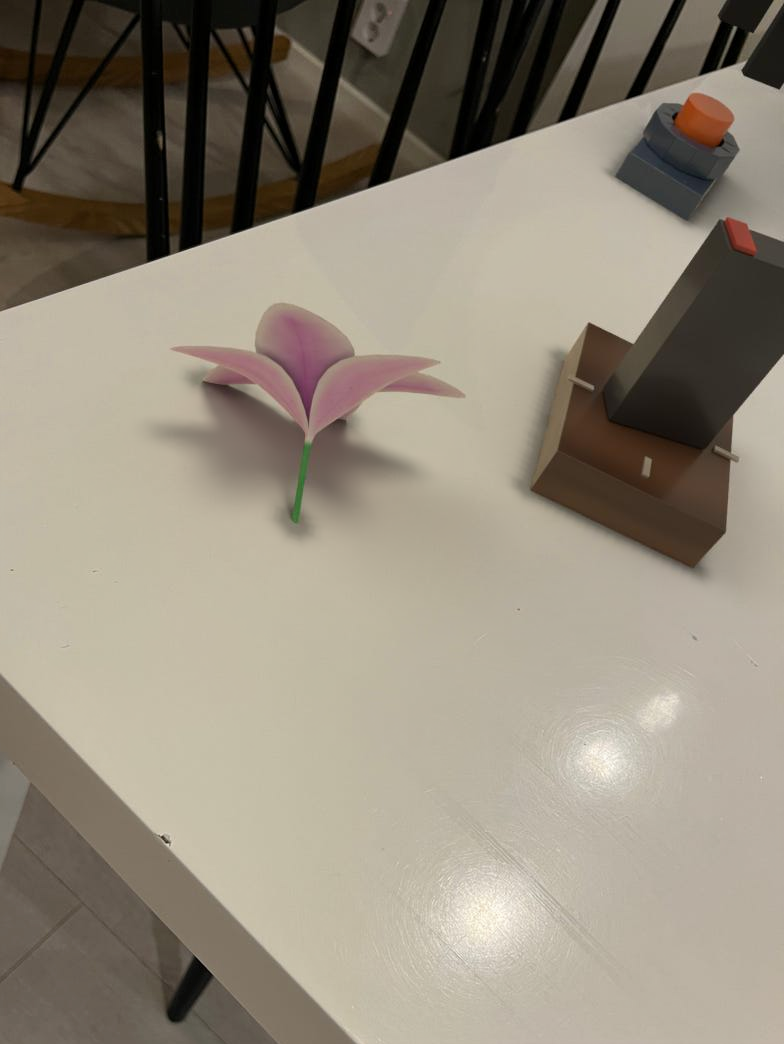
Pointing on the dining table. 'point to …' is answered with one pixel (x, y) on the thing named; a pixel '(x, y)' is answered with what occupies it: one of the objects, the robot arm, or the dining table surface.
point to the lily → (315, 372)
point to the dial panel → (629, 462)
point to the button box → (675, 163)
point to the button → (704, 119)
